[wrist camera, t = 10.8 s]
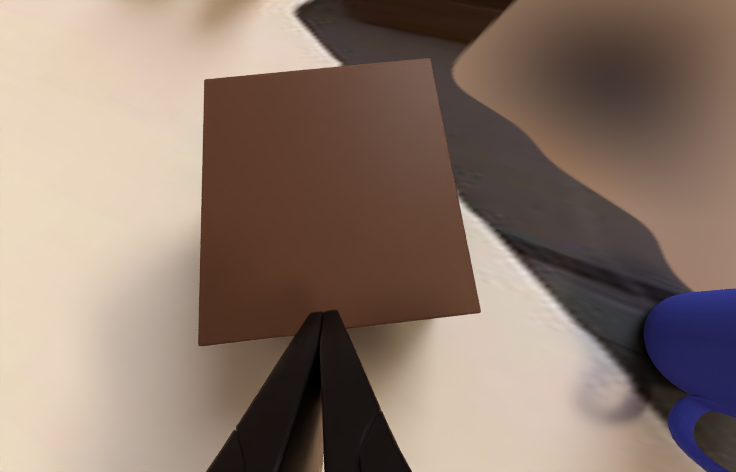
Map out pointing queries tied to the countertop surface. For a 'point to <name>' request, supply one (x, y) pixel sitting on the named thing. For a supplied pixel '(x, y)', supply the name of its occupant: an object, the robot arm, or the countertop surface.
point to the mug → (696, 360)
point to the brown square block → (328, 202)
